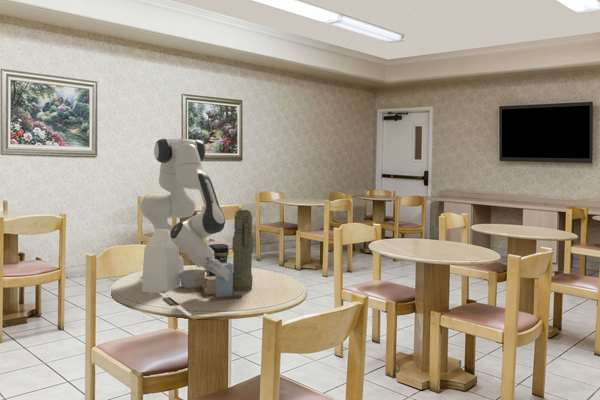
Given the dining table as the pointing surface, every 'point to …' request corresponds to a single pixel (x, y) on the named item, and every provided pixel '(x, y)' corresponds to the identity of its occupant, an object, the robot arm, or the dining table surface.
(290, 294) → the dining table surface
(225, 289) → the tall pale blue box
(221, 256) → the coffee jar
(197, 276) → the teacup
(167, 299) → the mat
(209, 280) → the offcut top
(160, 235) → the milk
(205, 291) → the offcut low
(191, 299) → the dining table surface
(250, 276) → the thermos
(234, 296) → the tray
